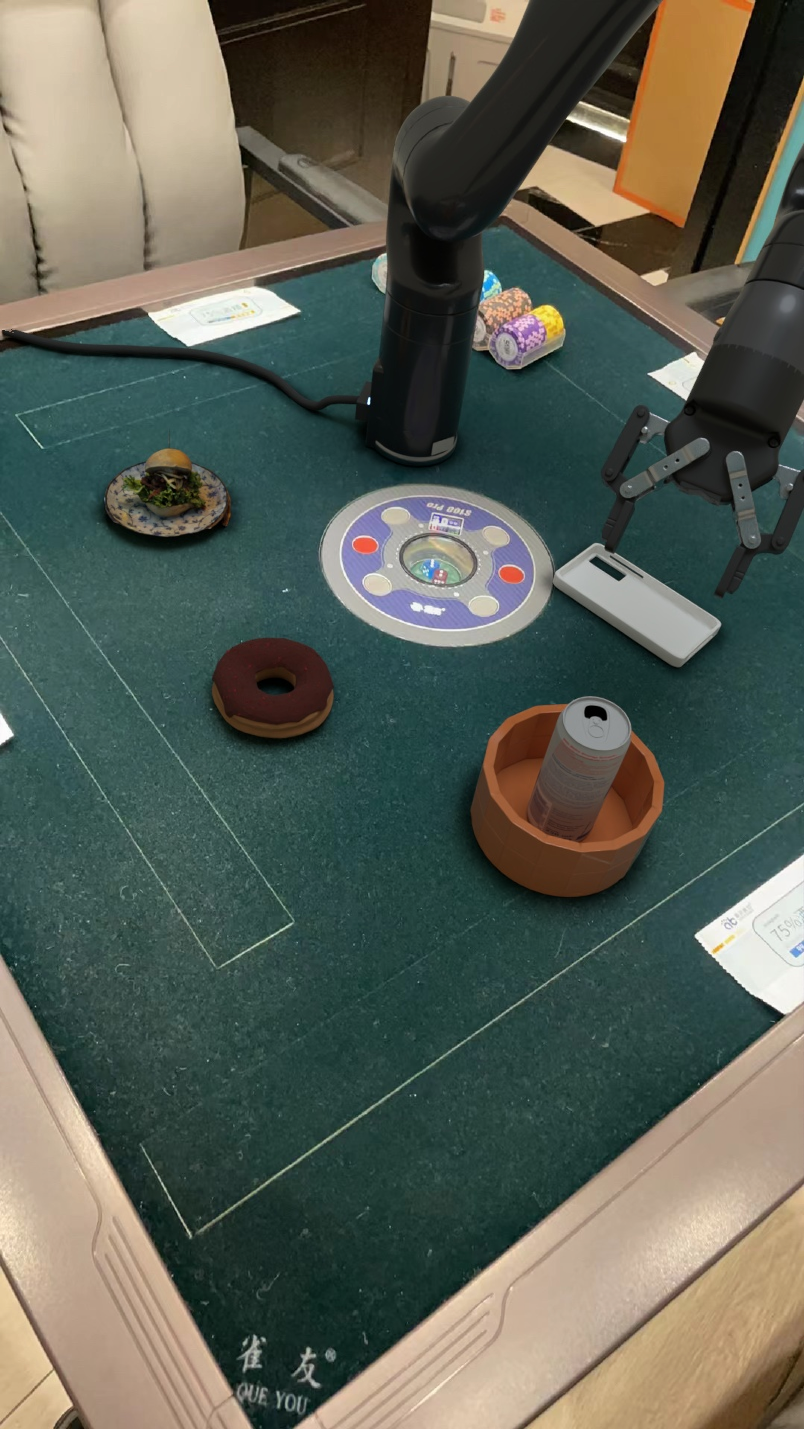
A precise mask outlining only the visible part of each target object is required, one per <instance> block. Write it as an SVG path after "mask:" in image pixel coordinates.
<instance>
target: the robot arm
mask: <svg viewBox="0 0 804 1429" xmlns="http://www.w3.org/2000/svg"><path fill="white" fill-rule="evenodd" d="M663 1H664V0H528V3H527V5H526V8H525V10H524V12H523V15H522V18H521V20H520V22H519V25H518V27H517V30H516V32H515V34H514V36H513V38H512V41H511V42H510V44H509V47H508V48H507V50H506V52H505V53H504V55H503V57H502V58H501V60H500V62H499V64H498V65H497V66H496V67H495V69H494V71H493V72H492V73H491V75H490V76H489V78H488V79H487V81H485V83H484V84H483V86H482V87H481V88H480V90H478V92H477V93H476V94H475V95H474V97H473V98H472V99H471V101H469V100H467V99H465V98H462V97H460V96H455V95H440V96H436V97H432V98H429V99H427V100H425V101H424V102H421V103H420V104H419V105H417V106H416V107H415V108H414V109H413V110H412V111H410V113H409V114H408V115H407V117H406V118H405V120H404V121H403V123H402V125H401V126H400V128H399V130H398V133H397V135H396V138H395V142H394V146H393V152H392V157H391V165H390V166H391V167H390V177H389V189H388V200H387V201H388V204H387V213H386V214H387V215H386V227H385V228H386V229H385V252H386V253H385V254H386V280H385V291H384V292H385V293H384V303H383V311H382V322H381V332H380V342H379V349H378V350H379V352H378V356H377V358H376V360H375V362H374V365H373V367H372V374H371V381H368V380H366V381H365V382H364V385H363V387H362V389H361V391H360V393H359V395H347V394H335V395H328V396H325V397H324V398H321V399H320V400H319V401H316V400H311V399H309V398H306V397H304V396H303V395H302V394H300V393H299V392H298V391H297V390H295V389H294V388H293V387H292V386H291V385H290V384H289V383H288V382H287V381H286V380H284V379H283V378H282V377H281V376H279V375H278V374H276V373H275V372H273V371H271V370H269V369H267V368H265V367H262V366H261V365H258V364H256V363H253V362H250V361H247V360H245V359H241V358H239V357H236V356H231V355H227V354H223V353H218V352H213V351H209V350H203V349H197V348H189V347H188V348H187V347H175V346H174V347H171V346H146V345H131V344H100V343H99V344H97V343H95V344H94V343H93V344H92V343H79V342H71V341H70V342H69V341H63V340H58V339H53V338H48V337H43V336H39V335H36V334H32V333H29V332H27V331H26V332H25V331H22V330H19V329H15V330H12V329H13V328H12V329H11V330H12V331H11V332H9V331H5V330H2V329H1V335H2V336H4V337H7V338H11V339H14V340H15V339H16V340H19V341H23V342H26V343H29V344H32V345H36V346H40V347H45V348H49V349H52V350H59V351H64V352H65V351H66V352H74V353H81V354H106V355H107V354H108V355H109V354H110V355H112V354H113V355H137V356H139V355H140V356H157V357H159V356H161V357H178V358H179V357H181V358H192V359H200V360H205V361H209V362H210V361H211V362H216V363H220V364H225V365H229V366H232V367H235V368H239V369H241V370H245V371H248V372H250V373H252V374H255V375H257V376H260V377H262V378H264V379H266V380H268V381H270V382H272V383H273V384H274V385H276V386H277V387H278V388H279V389H281V391H283V392H284V393H285V394H286V396H288V397H289V398H290V399H292V400H293V401H294V402H295V403H297V404H298V405H299V406H301V407H303V408H305V409H308V410H311V411H322V410H324V409H326V408H327V407H330V406H332V405H355V413H354V414H355V415H354V421H359V422H363V423H366V424H367V426H366V434H365V446H366V447H368V448H372V449H375V450H376V451H377V452H378V453H379V454H380V455H382V456H383V457H384V458H387V459H388V460H390V461H392V462H396V463H398V464H402V465H407V466H415V467H425V466H426V467H427V466H432V465H436V464H439V463H442V462H443V461H445V460H447V459H448V458H450V457H451V456H452V455H453V454H454V452H455V450H456V447H457V441H458V432H459V424H460V418H461V413H462V407H463V403H464V396H465V391H466V385H467V379H468V374H469V368H470V364H471V363H470V362H471V357H472V351H473V346H474V340H475V334H476V327H477V322H478V316H479V312H480V305H481V300H482V299H481V298H482V293H483V289H484V282H485V262H484V251H483V232H484V231H485V230H487V229H488V228H489V227H491V225H493V224H494V223H495V222H496V221H497V220H498V219H499V217H500V216H502V214H503V213H504V211H505V209H506V208H507V207H508V205H509V204H510V203H511V201H512V200H513V199H514V197H515V195H516V194H517V192H518V191H519V189H520V188H521V186H522V185H523V183H524V182H525V180H526V179H527V177H528V175H529V174H530V173H531V171H532V170H533V168H534V166H535V165H536V163H537V162H538V160H539V159H540V157H541V156H542V155H543V153H544V151H546V148H547V147H548V146H549V144H550V143H551V142H552V140H553V138H554V137H555V135H556V134H557V132H558V131H559V129H561V127H562V125H563V124H564V123H565V121H566V120H567V118H569V116H570V114H571V113H572V112H573V111H574V109H575V108H576V107H577V106H578V104H579V103H580V102H581V101H582V99H583V98H585V96H586V95H587V93H588V92H589V91H590V90H591V89H592V88H593V87H594V85H595V84H596V83H597V81H599V79H600V78H601V77H602V75H603V74H605V72H606V71H607V69H608V68H609V67H610V65H611V64H612V62H614V60H615V59H616V58H617V56H618V55H619V54H620V53H621V51H622V50H623V49H624V47H625V46H626V45H627V44H628V42H630V40H631V39H632V38H633V36H634V35H635V34H636V33H637V32H638V30H639V29H640V28H641V27H642V26H643V24H644V23H645V22H646V21H647V20H648V18H650V16H652V14H653V13H654V12H655V11H656V10H657V8H658V7H659V5H661V4H662V2H663ZM12 332H14V333H12ZM803 402H804V142H803V143H802V145H801V147H800V149H799V151H798V153H797V155H796V157H795V160H794V161H793V164H792V166H791V169H790V171H789V174H788V177H787V179H786V182H785V186H784V188H783V192H782V194H781V198H780V201H779V204H778V208H777V211H776V214H775V218H774V222H773V226H772V228H771V230H770V232H769V234H768V235H767V237H766V239H765V241H764V243H763V245H762V247H761V248H760V250H759V252H758V254H757V257H756V259H755V261H754V263H753V265H752V268H751V270H750V271H749V274H748V276H747V278H746V281H745V282H744V285H743V287H742V289H741V291H740V292H739V294H738V296H737V298H736V299H735V301H734V302H733V304H732V305H731V307H730V308H729V310H728V311H727V314H726V316H725V317H724V319H723V321H722V323H721V325H720V327H719V328H718V329H717V331H716V333H715V334H714V337H713V340H712V344H711V347H710V349H709V351H708V353H707V354H706V358H705V360H704V362H703V364H702V366H701V368H700V370H699V372H698V375H697V376H696V379H695V381H694V383H693V385H692V387H691V390H690V392H689V394H688V396H687V398H686V401H685V402H684V404H683V407H682V409H681V411H680V412H679V413H678V415H676V416H675V418H673V419H672V420H667V419H665V418H663V417H661V416H658V415H656V414H654V413H652V412H650V408H649V407H648V406H647V405H644V404H639V405H637V406H635V407H634V408H633V410H632V412H631V413H630V415H629V417H628V419H627V420H626V423H625V425H624V427H623V429H622V431H621V433H620V434H619V436H618V438H617V440H616V441H615V444H614V446H613V447H612V449H611V451H610V452H609V455H608V456H607V458H606V461H605V462H604V464H603V465H602V468H601V470H600V476H601V480H602V484H603V485H604V487H606V488H608V489H609V490H610V491H611V492H612V493H614V495H615V496H616V498H615V501H614V504H613V506H612V508H611V509H610V512H609V514H608V516H607V518H606V521H605V523H604V525H603V527H602V530H601V541H602V542H605V544H604V546H605V547H604V549H605V551H608V552H610V553H612V554H614V553H616V551H617V549H618V547H619V545H620V543H621V541H622V539H623V537H624V534H625V532H626V531H627V528H628V526H629V523H630V521H631V520H632V517H633V515H634V513H635V511H636V505H635V504H636V502H638V501H639V500H641V499H643V498H645V497H646V496H649V495H650V494H652V493H654V492H655V493H656V492H658V491H660V490H661V489H664V488H665V487H667V486H669V485H671V484H672V483H673V484H674V486H675V487H676V489H677V488H678V492H681V493H683V494H686V495H688V496H697V497H700V498H702V499H703V500H704V501H706V503H709V504H711V505H713V506H716V507H720V506H728V505H730V509H731V514H732V518H733V522H734V525H735V528H736V532H737V537H738V540H739V545H736V546H735V549H734V551H733V553H732V555H731V557H730V559H729V561H728V563H727V565H726V567H725V569H724V572H723V574H722V576H721V578H720V580H719V582H718V583H717V586H716V589H715V590H714V593H713V595H712V596H713V597H715V598H717V599H720V600H722V599H723V598H724V596H725V594H726V593H727V594H729V595H733V594H735V592H736V591H738V589H740V586H741V585H742V582H743V580H744V578H745V576H746V573H747V572H748V570H749V567H750V566H751V563H752V561H753V559H754V557H756V556H757V555H759V554H771V555H775V556H779V555H781V554H783V553H784V552H785V551H786V549H787V548H788V547H789V545H790V543H791V540H792V538H793V535H794V532H795V531H796V528H797V526H798V523H799V520H800V518H801V516H802V513H803V510H804V468H803V469H802V470H799V469H796V468H793V467H790V466H786V465H784V464H780V460H779V457H780V456H779V454H780V451H781V449H782V446H783V445H784V443H785V440H786V438H787V436H788V434H789V433H790V432H789V431H790V430H791V427H792V425H793V423H794V422H795V419H796V417H797V415H798V413H799V411H800V409H801V406H802V405H803ZM657 436H662V437H663V444H664V447H665V452H666V457H664V458H662V459H660V460H659V461H657V462H655V463H654V464H652V465H650V466H648V467H647V469H645V470H644V471H642V472H640V473H638V474H637V475H635V476H634V477H632V478H630V479H628V478H627V477H626V476H625V475H624V472H625V470H626V469H627V467H628V465H629V463H630V462H631V459H632V458H633V456H634V454H635V452H636V450H637V448H638V446H639V445H640V444H643V445H646V444H649V443H650V442H651V441H652V440H653V439H654V438H655V437H657ZM772 480H774V481H776V482H777V483H778V487H779V488H778V492H777V493H778V496H779V498H780V499H781V500H783V501H785V503H784V505H783V508H782V510H781V513H780V515H779V518H778V520H777V522H776V525H775V527H774V530H773V532H772V533H765V532H760V527H759V524H758V518H757V515H756V507H755V503H754V498H753V492H754V491H756V490H758V489H760V488H762V487H763V486H765V485H767V484H768V483H770V482H771V481H772Z"/></svg>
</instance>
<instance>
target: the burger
mask: <svg viewBox="0 0 804 1429" xmlns="http://www.w3.org/2000/svg"><path fill="white" fill-rule="evenodd" d="M170 441H171V428H169V429H168V448H164V449H160V450H158V451H156V452H154V453H152V454H151V455H150V456H149V457H148V459H147V460H146V461H142V462H138V463H135V464H133V465H131V466H128V467H126V468H124V469H123V470H120V472H118V474H116V476H115V477H113V478H112V479H111V480H110V481H109V483H108V485H107V487H106V489H105V493H104V498H103V500H104V504H105V505H104V514H105V516H107V515H108V517H109V518H110V519H111V521H112V522H113V523H116V524H118V525H121V526H122V527H124V528H125V529H127V530H129V531H130V532H131V531H132V532H135V533H139V534H143V535H148V536H149V535H150V536H155V537H163V538H173V537H179V536H183V535H188V534H195V533H199V532H201V531H204V530H207V529H209V530H210V529H212V528H213V527H214V526H217V525H218V524H219V522H220V521H221V525H222V526H223V527H228V524H229V520H230V519H231V510H232V509H231V497H230V494H229V490H228V488H227V485H226V484H225V483H224V481H223V480H222V479H221V477H219V476H218V475H217V474H216V473H215V472H214V471H213V470H211V469H209V468H207V467H206V466H203V465H200V464H198V463H195V462H193V461H191V459H190V457H189V456H188V455H187V454H186V453H185V452H184V451H182V450H180V449H175V448H170V446H171V445H170Z"/></svg>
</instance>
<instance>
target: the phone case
mask: <svg viewBox="0 0 804 1429" xmlns="http://www.w3.org/2000/svg"><path fill="white" fill-rule="evenodd" d="M604 547H605V544H604V545H603V544H602V543H599V542H594V543H592V544H591V545H590V546H588V547H586V549H584V550H583V551H581V552H580V553H579V554H577V555H576V556H574V557H573V558H572V559H570V560H569V561H568V562H567V563H565V564H564V565H563V566H561V567H560V568H559V569H557V570H556V571H555V572H554V575H553V579H552V584H553V585H554V586H555V588H557V589H558V590H559V591H561V592H562V593H564V594H565V595H566V596H568V597H569V598H571V599H573V600H574V601H576V602H577V603H579V604H580V605H582V606H583V607H585V608H586V609H587V610H589V611H591V612H592V613H593V614H595V615H596V616H598V617H599V618H601V619H602V620H604V621H605V622H607V623H608V624H610V626H613V627H614V628H616V629H617V630H618V631H620V632H622V633H623V634H624V635H626V636H627V637H629V638H630V639H632V640H633V641H634V642H636V643H638V644H639V645H641V646H642V647H643V648H645V649H646V650H648V651H649V652H651V653H652V654H654V655H655V656H657V657H658V658H659V659H661V660H663V661H664V662H666V663H667V664H669V665H670V666H672V667H675V668H681V667H682V666H683V665H684V664H686V663H687V662H688V661H689V660H690V659H691V658H693V657H694V656H695V655H696V654H697V653H698V652H699V651H700V650H701V649H702V648H704V647H705V646H706V645H707V644H708V643H709V642H710V641H711V640H713V639H714V637H716V635H718V633H719V630H720V628H721V626H722V623H721V621H720V620H719V619H718V618H717V617H716V616H714V615H713V614H711V613H709V612H708V611H707V610H705V609H704V608H701V607H700V606H699V605H697V604H696V603H694V602H692V601H691V600H689V599H688V598H686V597H685V596H683V595H681V594H680V593H678V592H677V591H675V590H673V588H671V587H669V586H667V585H666V584H664V583H663V582H661V581H660V580H658V579H657V578H655V577H654V576H653V575H650V574H649V573H647V572H646V571H644V570H643V569H641V568H640V567H638V566H637V565H635V564H634V563H632V562H630V561H629V560H627V559H626V558H625V557H622V556H621V555H620V554H618V553H616V552H615V553H614V554H612V553H610V552H608V551H605V549H604ZM595 557H596V558H598V559H599V560H601V561H603V562H604V563H605V564H607V565H609V566H610V567H612V568H613V569H615V570H616V571H618V572H619V573H621V574H622V575H624V577H623V578H622V579H620V580H617V579H616V578H614V577H613V576H611V575H610V574H608V573H606V571H603V569H600V568H599V567H597V566H596V565H595V564H594V563H592V562H591V561H592V560H593V559H594V558H595ZM616 560H617V561H616ZM618 561H619V562H618ZM624 565H625V566H624ZM626 566H627V567H628V568H627V567H626ZM636 573H637V574H636ZM641 576H642V577H641Z"/></svg>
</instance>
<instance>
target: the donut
mask: <svg viewBox="0 0 804 1429" xmlns="http://www.w3.org/2000/svg"><path fill="white" fill-rule="evenodd" d="M330 672H331V671H330V670H329V667H328V665H327V663H326V662H325V661H324V659H323V658H322V656H321V655H320V654H319V653H318V652H317V651H316V650H315V649H314V648H312V647H311V646H310V645H309V646H308V645H306V644H305V643H302V642H300V641H299V642H298V641H295V640H292V639H289V638H286V637H258V638H254V639H250V640H245V641H243V642H240V643H238V644H235V645H234V646H231V648H230V649H227V650H226V652H224V654H222V656H221V658H219V660H218V661H217V664H216V666H215V668H214V671H213V674H212V677H211V678H212V679H211V681H213V684H212V688H211V693H212V694H211V695H212V699H213V702H214V704H215V706H216V707H217V709H218V711H219V713H220V714H221V716H222V718H223V719H224V720H225V721H226V723H228V724H229V725H230V726H231V727H233V728H235V729H236V730H238V731H240V732H243V733H245V734H247V735H248V734H249V735H252V736H256V737H261V738H271V739H285V738H286V739H287V738H292V737H298V736H301V735H304V734H306V733H308V732H311V731H313V730H315V729H317V728H318V727H319V726H320V725H321V724H323V723H324V722H325V720H326V719H327V718H328V716H329V714H330V713H331V710H332V707H333V705H334V704H333V703H334V698H335V696H334V689H335V686H334V682H333V679H332V676H331V675H332V674H331V673H330ZM272 678H273V679H274V678H275V679H282V680H284V681H287V682H288V683H290V684H291V685H292V686H293V690H291V691H289V692H286V693H280V694H268V693H266V692H264V691H263V690H261V689H259V686H258V683H259V682H261V681H263V680H268V679H272Z"/></svg>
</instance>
